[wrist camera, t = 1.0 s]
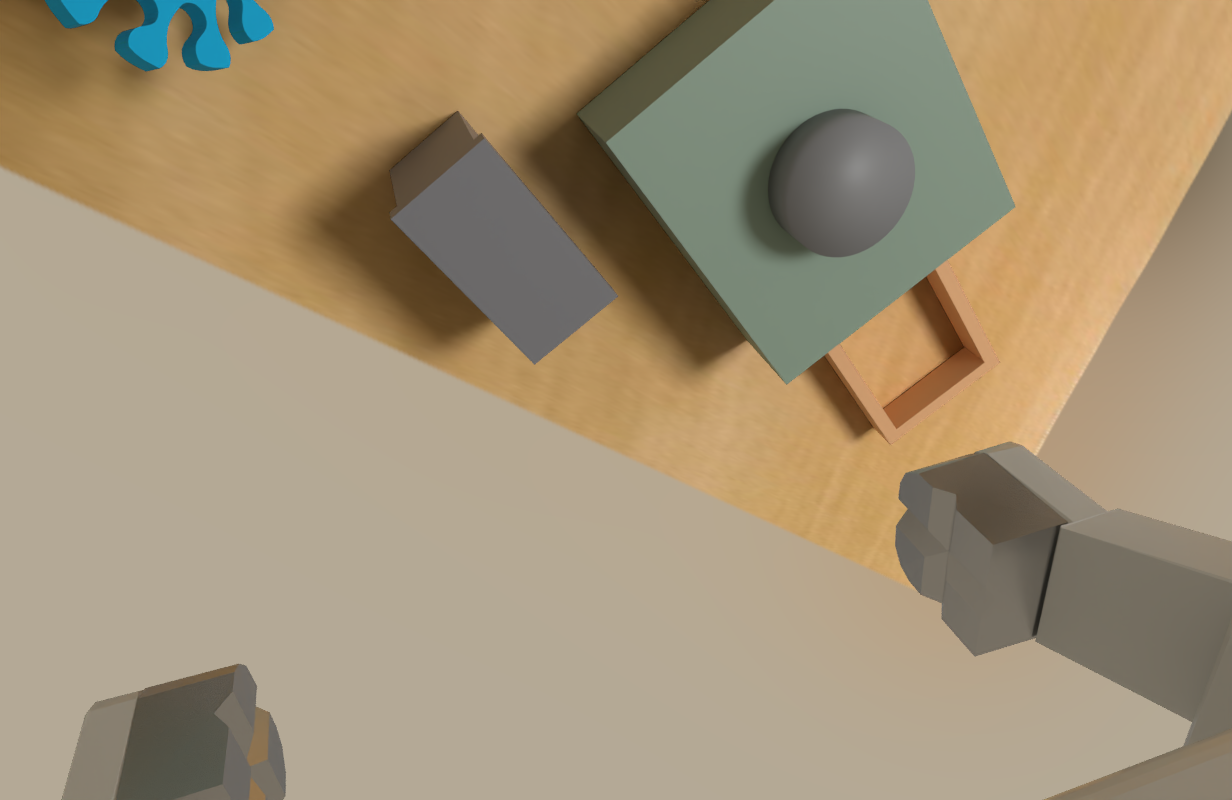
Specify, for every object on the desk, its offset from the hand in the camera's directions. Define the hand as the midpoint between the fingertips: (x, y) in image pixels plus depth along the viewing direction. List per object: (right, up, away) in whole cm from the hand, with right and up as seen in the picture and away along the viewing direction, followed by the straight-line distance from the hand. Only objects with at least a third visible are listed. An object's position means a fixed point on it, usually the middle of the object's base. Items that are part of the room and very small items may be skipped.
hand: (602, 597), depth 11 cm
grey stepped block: (-6, +11, +30) cm, 33 cm away
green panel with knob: (+12, +11, +36) cm, 39 cm away
